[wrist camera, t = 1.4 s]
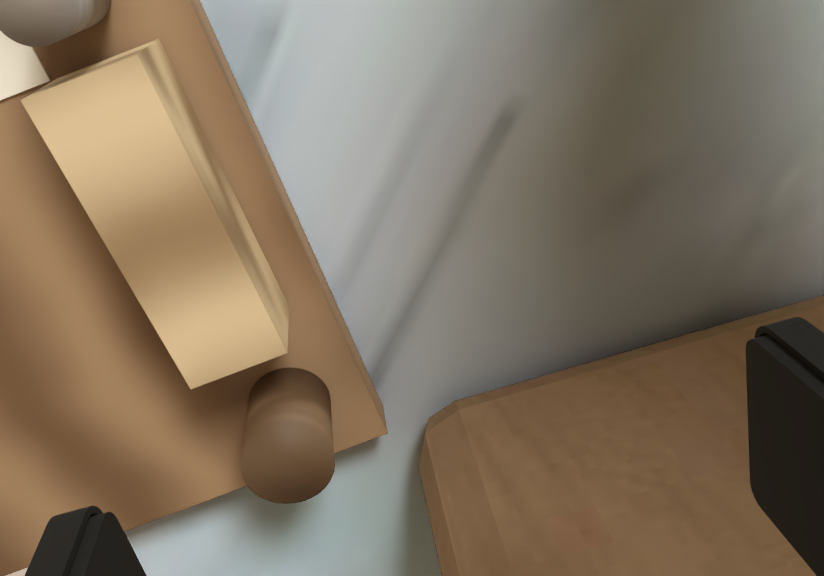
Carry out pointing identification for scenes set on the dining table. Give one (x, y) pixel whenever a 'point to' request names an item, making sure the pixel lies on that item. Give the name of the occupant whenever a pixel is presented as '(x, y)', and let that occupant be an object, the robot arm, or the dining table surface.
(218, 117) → the board
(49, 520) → the robot arm
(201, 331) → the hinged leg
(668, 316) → the dining table surface
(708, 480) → the wooden block
